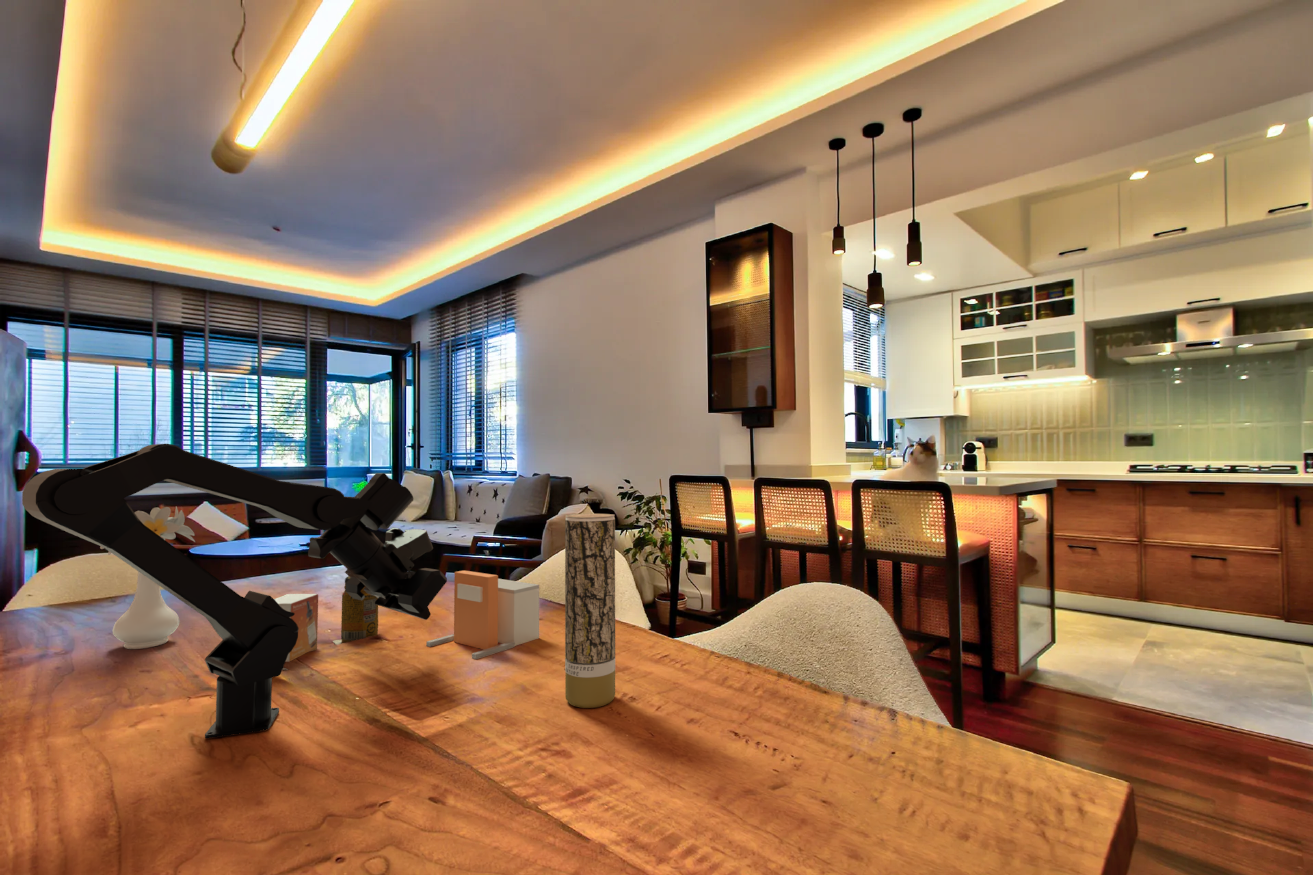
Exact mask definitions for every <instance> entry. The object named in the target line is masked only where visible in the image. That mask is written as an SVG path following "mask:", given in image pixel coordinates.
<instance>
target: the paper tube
mask: <svg viewBox="0 0 1313 875" xmlns="http://www.w3.org/2000/svg"><path fill="white" fill-rule="evenodd" d="M615 515H616V514H610V513H575V514H573V513H572V514H566V515H565V518H564V521H565V522H564V525H565V526H564V527H565V528H564V529H565V531H564V533H565V535H564V540H565V542H564V543H565V544H564V547H565V548H564V550H565V553H564V554H565V555H564V556H565V557H564V558H565V560H564V562H565V563H564V565H565V566H564V567H565V568H564V569H565V570H564V576H565V577H564V579H565V580H564V582H565V583H564V584H565V586H564V587H565V588H564V597H565V598H564V602H565V603H564V604H565V607H564V611H565V612H564V613H565V614H564V617H565V618H564V621H565V623H564V626H565V628H564V629H565V630H564V632H565V633H564V635H565V637H564V639H565V642H564V646H565V647H564V648H565V650H564V653H565V654H564V658H565V659H564V661H565V662H564V663H565V664H564V666H565V668H564V670H565V672H564V673H565V676H564V677H565V678H564V680H565V684H564V685H565V688H564V691H565V693H564V695H565V700H566V701H567V703H568V704H569V705H571V706H573V707H576V708H583V709H594V708H600V707H604V706H607V705H608V704H610V703H612V701H613V700H614V699H615V697H616V518H615Z"/></svg>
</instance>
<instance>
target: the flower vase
mask: <svg viewBox="0 0 1313 875" xmlns="http://www.w3.org/2000/svg"><path fill="white" fill-rule="evenodd" d="M171 510H172V509H171V508H170V507H169V506H165V507H162V508H160V507H153V508H152V509H151V511H150V513H147V512H145V511H142V510H137V511H134V513H135V514H136V516H137V517H138V519H139V520H140V521H141V522H142V523H143V524H144V525H145V526H146V527H148V528H149V529H151V530H152V531H153V532H155V533H156V534H157V535H159V536H160V537H161V538H163V539H164V540H165V541H166V540H174V539H176V536H177V535H176V533H177V534H179V535H182V536H184V537H186V538H187V539H189V540H190V541H193V542H194V543H196V540H195V539H194V538H193V537H194V536H195V535H196V534H195V532H194V531H193V530H192V529H191V528H190V527H189V526H188V525H185V524H184V523H185V521H186V520H185V519H186V516H185V513H184V511H183V510H180V511H179V509H178V507H177V506H175V511H174V516H171V517H170V515H171V513H172V511H171ZM192 536H193V537H192ZM99 548H100V549H101V550H103V549H105V548H103V547H101V546H100V547H99ZM107 551H108V550H107ZM107 554H108V556H109V555H111V554H112V553H111V552H109V551H108V553H107ZM180 623H181V622H180V617H179V615H178V614H177V612H176V611H175V610H174V609H172V608H171V607H169V606H168V604H166V601H165V600H164V598H163V596H162V592H161V586H159V585H158V584H156V583H155V582H153V581H152V580H150V579H149V578H147V577H146V576H144V575H143V574H142V573H140V572H139V571H137V581H136V590H135V594H134V597H133V599H132V602H131V604H130V606H129V607H128V608H127V610H126V611H125V612H124V613H123V614H122V615H121V616H120V617H119V618H118V619H117V620H116V621H115V623H114V625H113V627H112V635H113V636H114V637H115V638H116V639H117V640H119V641H120V642H123V643H124V644H123V648H124V649H127V650H139V649H148V648H153V647H157V646H161V645H164V644H166V643H167V642H168V640H169V636H171V635H172V634H174V632H175V631H176V630H177V629H178V627H179V626H180Z"/></svg>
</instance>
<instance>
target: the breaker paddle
mask: <svg viewBox="0 0 1313 875" xmlns="http://www.w3.org/2000/svg"><path fill="white" fill-rule="evenodd" d="M498 579H499V575H497V574H491V573H484V572H478V571H470V570H459V571H454V578H453V583H454V589H453V591H454V592H453V593H454V595H453V597H454V598H453V599H454V600H453V602H454V604H453V606H454V607H453V611H454V612H453V616H454V617H453V634H454V640H453V642H454V643H457V644H461V645H465V646H467V647H468V646H469V647H472V648H476V649H481V650H485V649H488V648H491V647H495V646H498V645H499V644H498V643H499V642H498Z"/></svg>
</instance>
